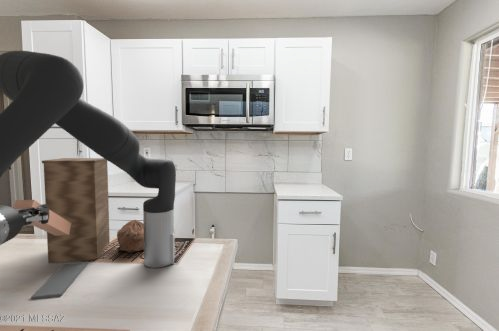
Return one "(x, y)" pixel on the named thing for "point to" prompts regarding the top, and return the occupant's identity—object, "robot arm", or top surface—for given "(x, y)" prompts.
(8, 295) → the top surface
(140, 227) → the decorative rock
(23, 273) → the top surface
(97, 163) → the stand
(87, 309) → the top surface
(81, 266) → the mat
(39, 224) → the tan wooden bar
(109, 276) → the top surface
